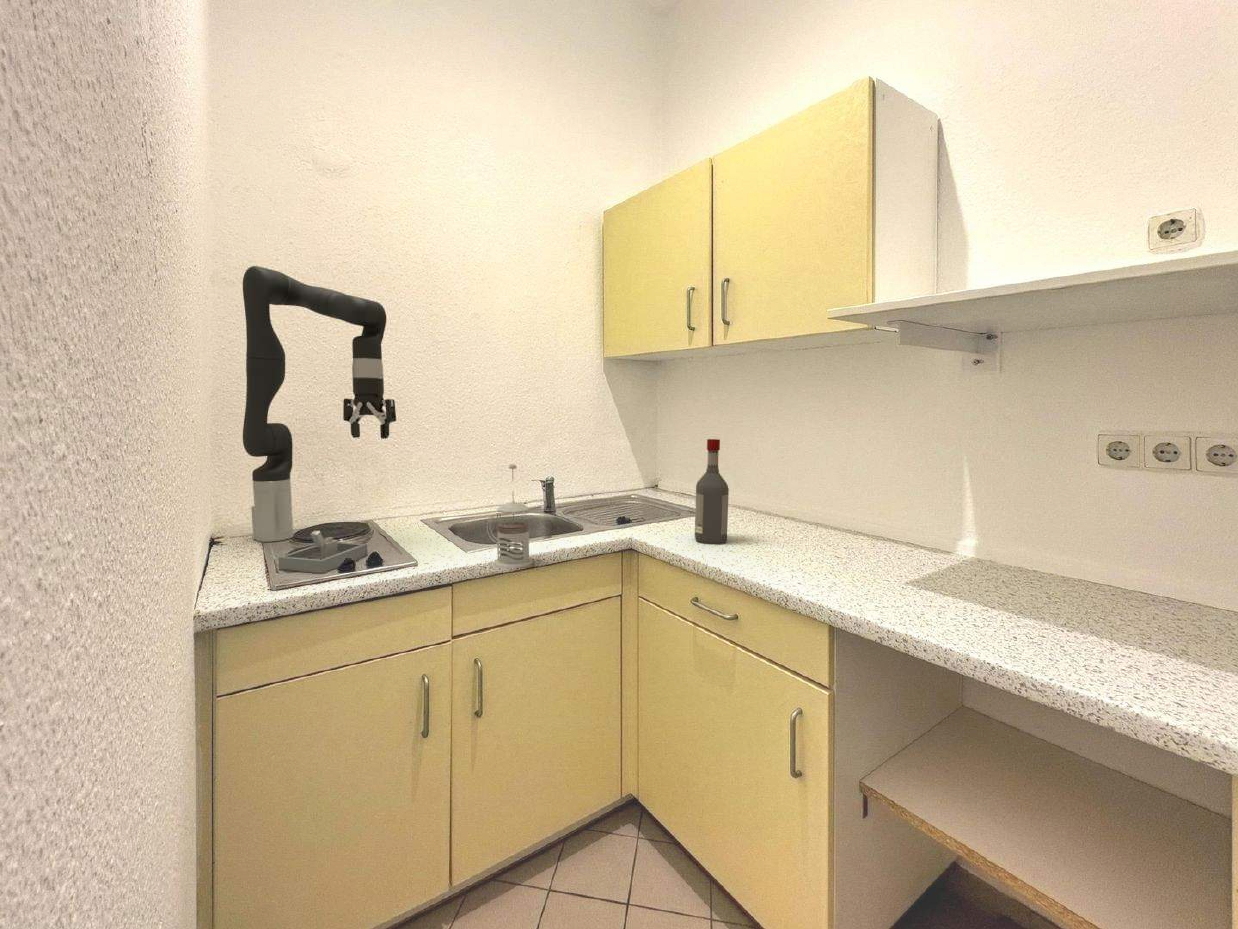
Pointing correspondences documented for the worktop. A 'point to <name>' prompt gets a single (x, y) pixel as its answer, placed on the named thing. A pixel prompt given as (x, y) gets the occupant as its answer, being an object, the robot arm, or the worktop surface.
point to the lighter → (325, 544)
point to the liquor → (711, 501)
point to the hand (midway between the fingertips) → (370, 438)
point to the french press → (512, 536)
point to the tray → (302, 564)
